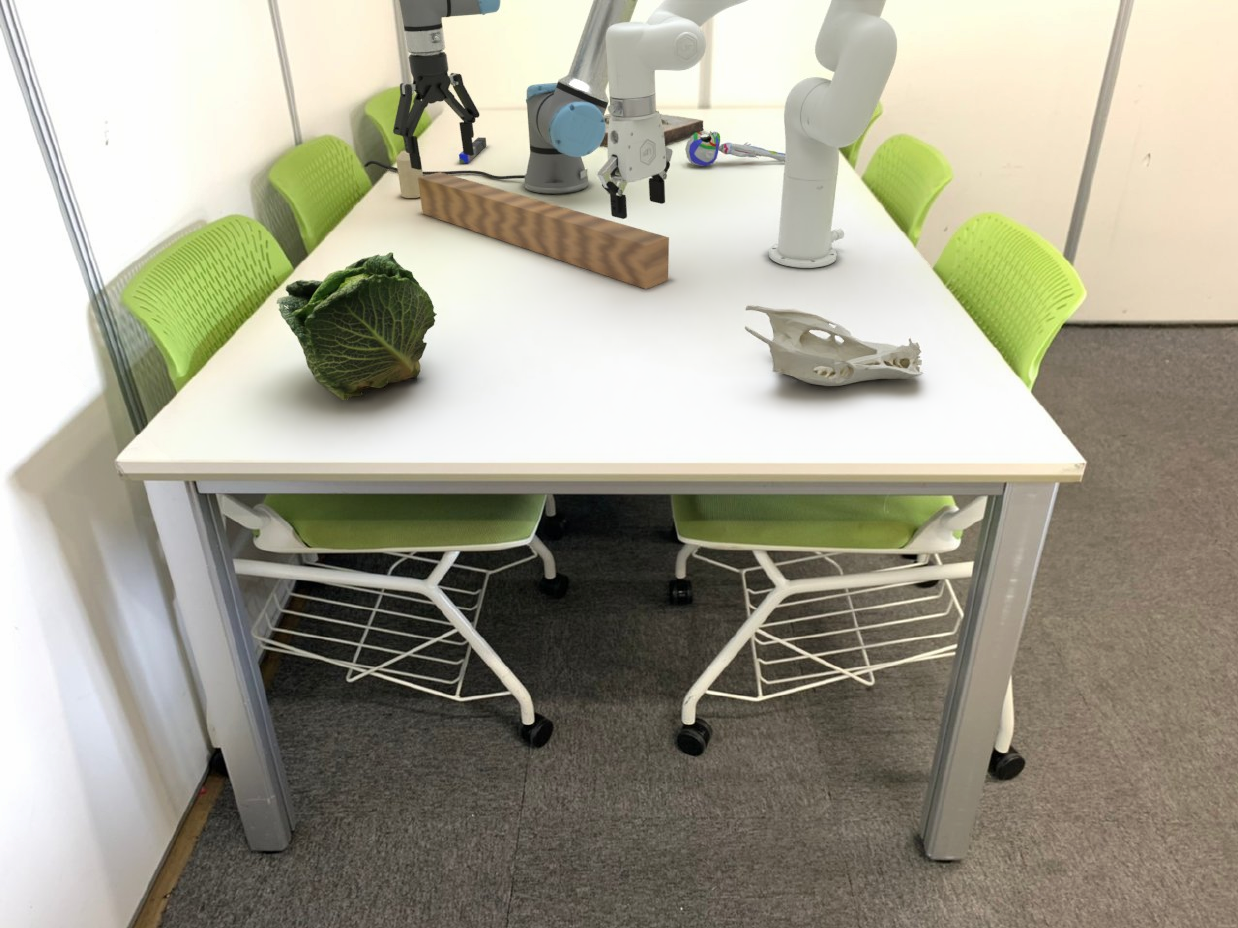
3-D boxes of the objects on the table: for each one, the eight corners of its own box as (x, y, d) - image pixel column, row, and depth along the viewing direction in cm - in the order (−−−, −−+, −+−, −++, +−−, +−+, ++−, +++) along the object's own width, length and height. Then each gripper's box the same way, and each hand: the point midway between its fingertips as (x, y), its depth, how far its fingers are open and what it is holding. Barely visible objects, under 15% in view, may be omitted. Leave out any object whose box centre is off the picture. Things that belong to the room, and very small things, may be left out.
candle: (429, 193, 211) (424, 149, 206) (417, 199, 207) (411, 154, 201) (409, 191, 213) (403, 147, 207) (396, 197, 208) (390, 153, 203)
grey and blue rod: (485, 137, 250) (466, 155, 233) (486, 145, 251) (467, 163, 234) (478, 137, 250) (458, 155, 233) (478, 145, 251) (459, 163, 234)
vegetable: (353, 408, 136) (266, 297, 128) (458, 337, 138) (379, 222, 130) (352, 443, 118) (251, 316, 110) (474, 360, 119) (382, 229, 111)
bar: (422, 213, 197) (417, 177, 193) (444, 208, 201) (439, 172, 197) (646, 289, 158) (646, 245, 153) (668, 280, 161) (669, 237, 157)
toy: (809, 146, 225) (693, 132, 220) (801, 180, 229) (687, 167, 224) (798, 137, 233) (686, 124, 229) (791, 170, 238) (681, 158, 233)
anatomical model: (746, 295, 131) (922, 298, 128) (744, 352, 136) (913, 356, 133) (742, 338, 119) (937, 342, 115) (741, 399, 124) (927, 405, 120)
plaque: (647, 125, 237) (559, 112, 252) (647, 153, 241) (560, 139, 256) (706, 107, 258) (622, 97, 273) (705, 133, 262) (622, 121, 277)
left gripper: (384, 64, 169) (404, 177, 181) (487, 45, 184) (500, 151, 195) (362, 60, 174) (383, 172, 185) (465, 42, 188) (478, 146, 200)
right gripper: (612, 120, 140) (619, 227, 149) (685, 98, 150) (687, 200, 159) (579, 115, 144) (588, 219, 154) (651, 94, 154) (656, 193, 163)
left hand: (443, 161), depth 190 cm, fingers open, 13 cm apart
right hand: (638, 209), depth 156 cm, fingers open, 9 cm apart
